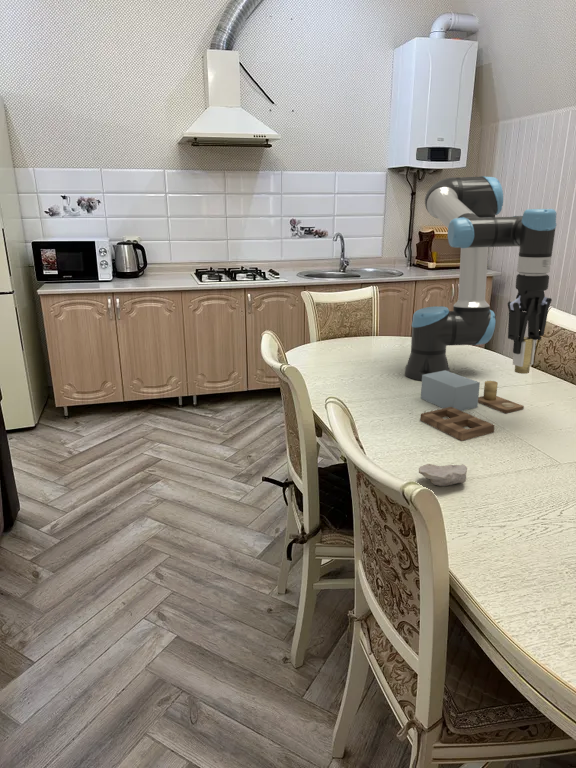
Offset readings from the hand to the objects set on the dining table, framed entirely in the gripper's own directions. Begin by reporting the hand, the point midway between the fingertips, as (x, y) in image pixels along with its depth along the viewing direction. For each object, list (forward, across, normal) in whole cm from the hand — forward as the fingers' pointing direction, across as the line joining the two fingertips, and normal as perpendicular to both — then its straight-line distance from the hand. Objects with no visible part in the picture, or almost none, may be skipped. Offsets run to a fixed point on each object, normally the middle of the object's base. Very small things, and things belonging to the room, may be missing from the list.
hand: (522, 364), depth 145 cm
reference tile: (+16, +6, +12) cm, 21 cm away
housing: (+16, -5, +21) cm, 27 cm away
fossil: (+17, -41, -17) cm, 47 cm away
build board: (+16, -16, +6) cm, 24 cm away
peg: (+2, 0, 0) cm, 2 cm away
